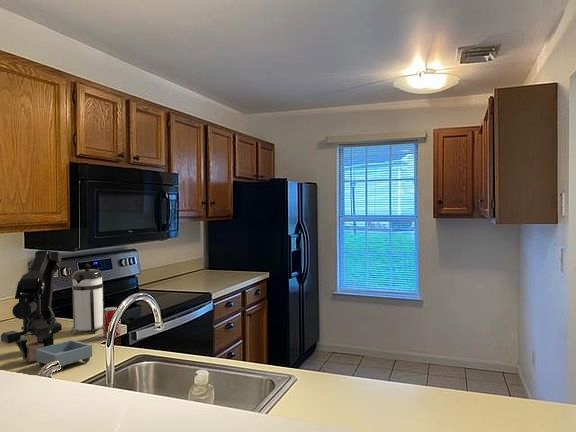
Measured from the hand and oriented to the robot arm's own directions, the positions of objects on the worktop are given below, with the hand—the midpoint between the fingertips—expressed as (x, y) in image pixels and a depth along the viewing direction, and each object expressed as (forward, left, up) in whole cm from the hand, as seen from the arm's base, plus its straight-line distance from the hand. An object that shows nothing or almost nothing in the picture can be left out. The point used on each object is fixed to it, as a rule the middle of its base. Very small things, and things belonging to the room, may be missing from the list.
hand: (33, 355), depth 160 cm
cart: (+13, +4, -2) cm, 13 cm away
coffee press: (-21, +35, -2) cm, 41 cm away
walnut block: (0, 0, -1) cm, 1 cm away
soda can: (-3, +34, -2) cm, 34 cm away
